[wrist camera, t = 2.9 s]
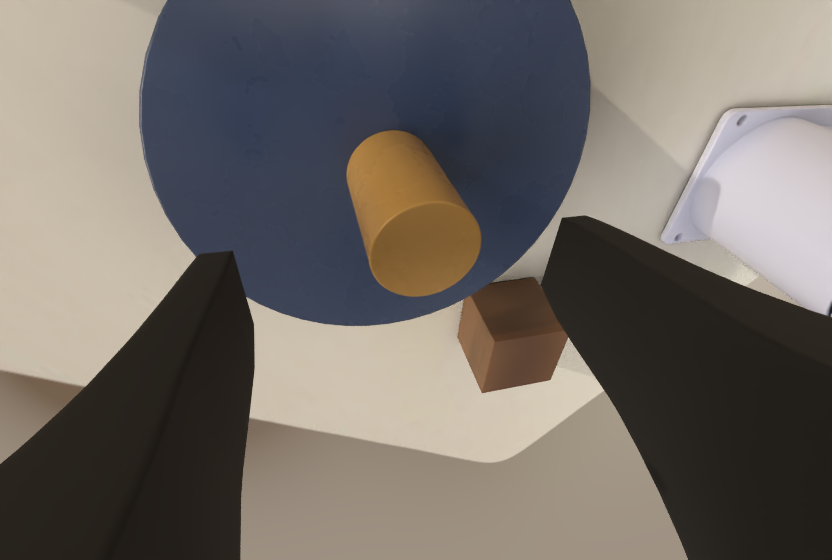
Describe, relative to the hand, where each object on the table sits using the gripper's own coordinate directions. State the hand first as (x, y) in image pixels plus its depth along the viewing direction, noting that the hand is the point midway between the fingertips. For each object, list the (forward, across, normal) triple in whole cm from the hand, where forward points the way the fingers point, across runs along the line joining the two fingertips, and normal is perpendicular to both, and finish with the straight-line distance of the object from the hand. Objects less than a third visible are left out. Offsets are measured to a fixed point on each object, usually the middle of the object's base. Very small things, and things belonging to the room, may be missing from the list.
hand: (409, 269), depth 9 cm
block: (+10, -8, +12) cm, 18 cm away
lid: (+5, 0, 0) cm, 5 cm away
